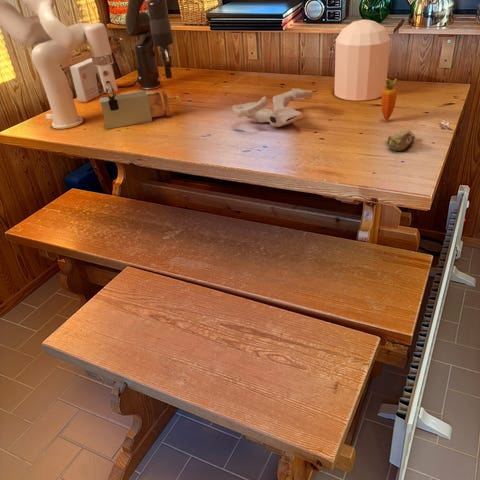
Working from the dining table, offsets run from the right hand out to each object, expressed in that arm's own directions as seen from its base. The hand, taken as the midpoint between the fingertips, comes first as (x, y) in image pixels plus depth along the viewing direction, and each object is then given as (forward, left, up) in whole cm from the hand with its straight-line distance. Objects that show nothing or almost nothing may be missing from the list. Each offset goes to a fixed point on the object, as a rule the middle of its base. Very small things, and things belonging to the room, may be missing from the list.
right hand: (169, 78), depth 182 cm
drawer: (-5, -7, -14) cm, 16 cm away
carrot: (+80, +26, -15) cm, 85 cm away
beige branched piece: (+46, +7, -15) cm, 49 cm away
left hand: (-14, -18, -8) cm, 24 cm away
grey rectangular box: (-12, -15, -15) cm, 24 cm away
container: (+58, +52, -15) cm, 79 cm away
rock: (+92, +7, -15) cm, 93 cm away
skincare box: (-56, +5, -15) cm, 58 cm away
